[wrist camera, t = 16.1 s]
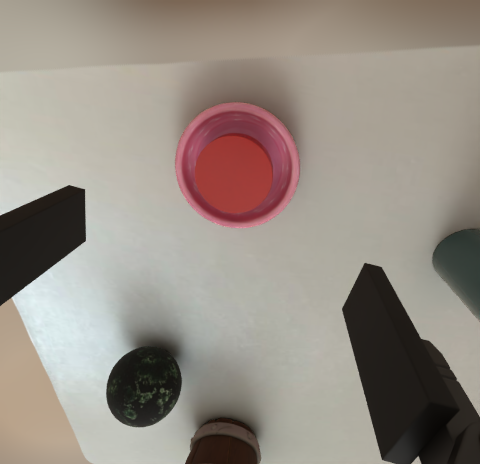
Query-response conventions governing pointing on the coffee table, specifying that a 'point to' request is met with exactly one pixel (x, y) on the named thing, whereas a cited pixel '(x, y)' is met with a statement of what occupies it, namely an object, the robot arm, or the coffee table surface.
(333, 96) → the coffee table surface
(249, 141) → the jam lid
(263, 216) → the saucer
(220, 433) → the flowerpot
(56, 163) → the coffee table surface
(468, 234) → the lidded canister
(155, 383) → the decorative stone
